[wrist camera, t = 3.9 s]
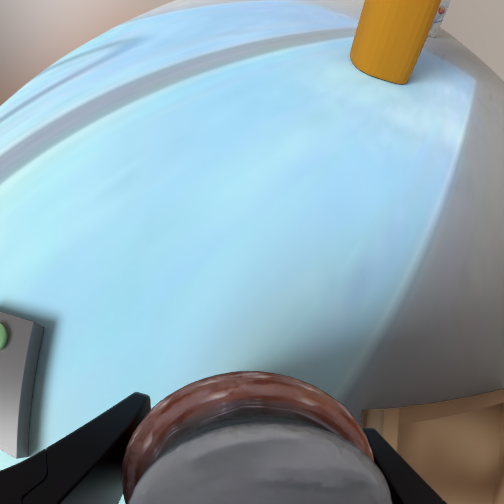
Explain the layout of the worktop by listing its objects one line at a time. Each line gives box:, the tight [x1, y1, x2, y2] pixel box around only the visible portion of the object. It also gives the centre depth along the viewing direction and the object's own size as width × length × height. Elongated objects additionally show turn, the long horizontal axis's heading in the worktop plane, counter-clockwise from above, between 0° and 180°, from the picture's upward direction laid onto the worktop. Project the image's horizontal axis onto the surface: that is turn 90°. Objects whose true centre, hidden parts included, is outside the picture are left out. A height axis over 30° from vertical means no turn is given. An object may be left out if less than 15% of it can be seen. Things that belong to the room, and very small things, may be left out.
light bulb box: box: [428, 0, 450, 38], centre depth 39 cm, size 11×7×11 cm, turn 108°
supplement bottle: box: [121, 371, 392, 504], centre depth 8 cm, size 6×6×11 cm
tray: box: [361, 389, 504, 504], centre depth 10 cm, size 12×12×2 cm
